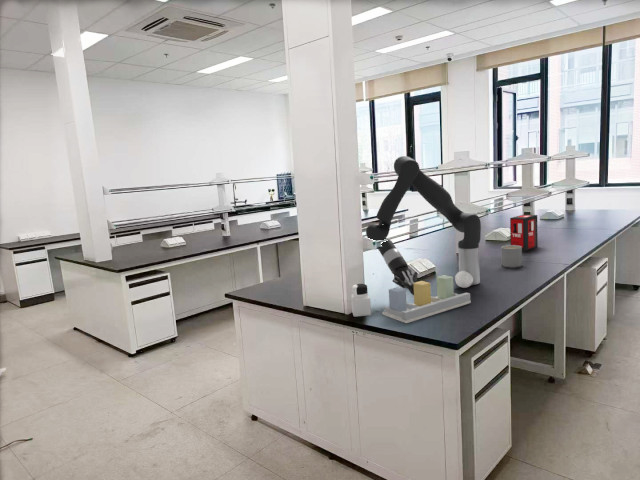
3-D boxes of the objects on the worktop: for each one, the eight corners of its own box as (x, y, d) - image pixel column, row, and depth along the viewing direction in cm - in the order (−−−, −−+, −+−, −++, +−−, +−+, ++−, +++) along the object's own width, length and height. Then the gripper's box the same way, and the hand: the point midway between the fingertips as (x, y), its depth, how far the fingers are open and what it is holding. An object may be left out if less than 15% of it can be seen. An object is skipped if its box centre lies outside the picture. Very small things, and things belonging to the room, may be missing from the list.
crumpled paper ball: (460, 290, 205) (460, 274, 204) (451, 286, 212) (451, 270, 211) (476, 288, 207) (475, 271, 206) (466, 284, 214) (466, 268, 213)
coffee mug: (516, 268, 236) (516, 249, 235) (498, 266, 244) (498, 247, 242) (528, 263, 245) (528, 244, 243) (510, 261, 252) (510, 243, 251)
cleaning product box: (524, 251, 274) (524, 218, 271) (510, 250, 281) (510, 218, 278) (537, 246, 285) (537, 215, 282) (523, 245, 292) (523, 214, 288)
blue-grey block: (389, 311, 180) (388, 289, 179) (398, 308, 183) (397, 287, 181) (398, 314, 176) (396, 291, 175) (406, 311, 178) (405, 289, 177)
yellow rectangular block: (414, 304, 187) (413, 282, 185) (422, 301, 189) (421, 280, 188) (423, 306, 182) (422, 285, 181) (431, 304, 185) (430, 282, 183)
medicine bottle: (369, 309, 188) (367, 281, 186) (371, 315, 181) (369, 286, 179) (351, 311, 188) (349, 283, 186) (353, 316, 181) (351, 287, 179)
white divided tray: (382, 314, 181) (381, 304, 180) (445, 296, 198) (444, 287, 198) (406, 323, 169) (405, 313, 169) (470, 302, 187) (470, 293, 186)
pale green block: (437, 297, 193) (436, 276, 192) (444, 295, 195) (444, 274, 194) (446, 299, 189) (445, 278, 188) (453, 297, 191) (453, 276, 190)
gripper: (386, 258, 191) (407, 292, 183) (410, 253, 198) (431, 285, 189) (379, 268, 196) (399, 302, 188) (402, 263, 203) (423, 295, 194)
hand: (415, 293), depth 188 cm, fingers closed
